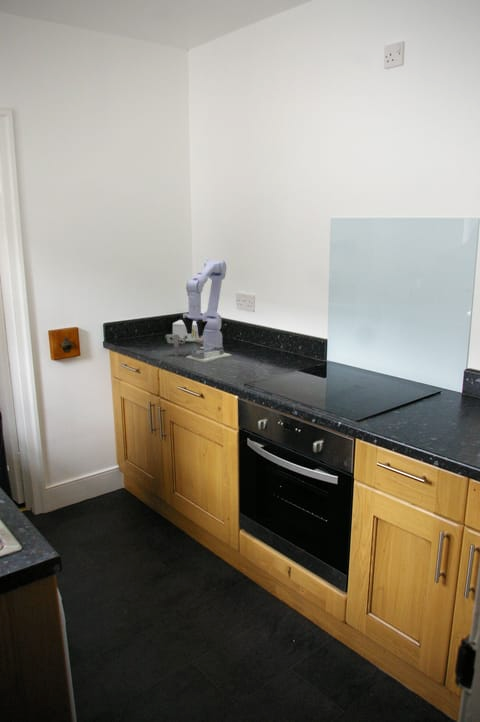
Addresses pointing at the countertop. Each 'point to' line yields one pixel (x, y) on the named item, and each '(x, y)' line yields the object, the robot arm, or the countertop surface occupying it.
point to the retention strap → (208, 344)
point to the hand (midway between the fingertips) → (194, 334)
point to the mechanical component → (175, 341)
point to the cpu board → (208, 354)
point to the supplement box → (181, 331)
